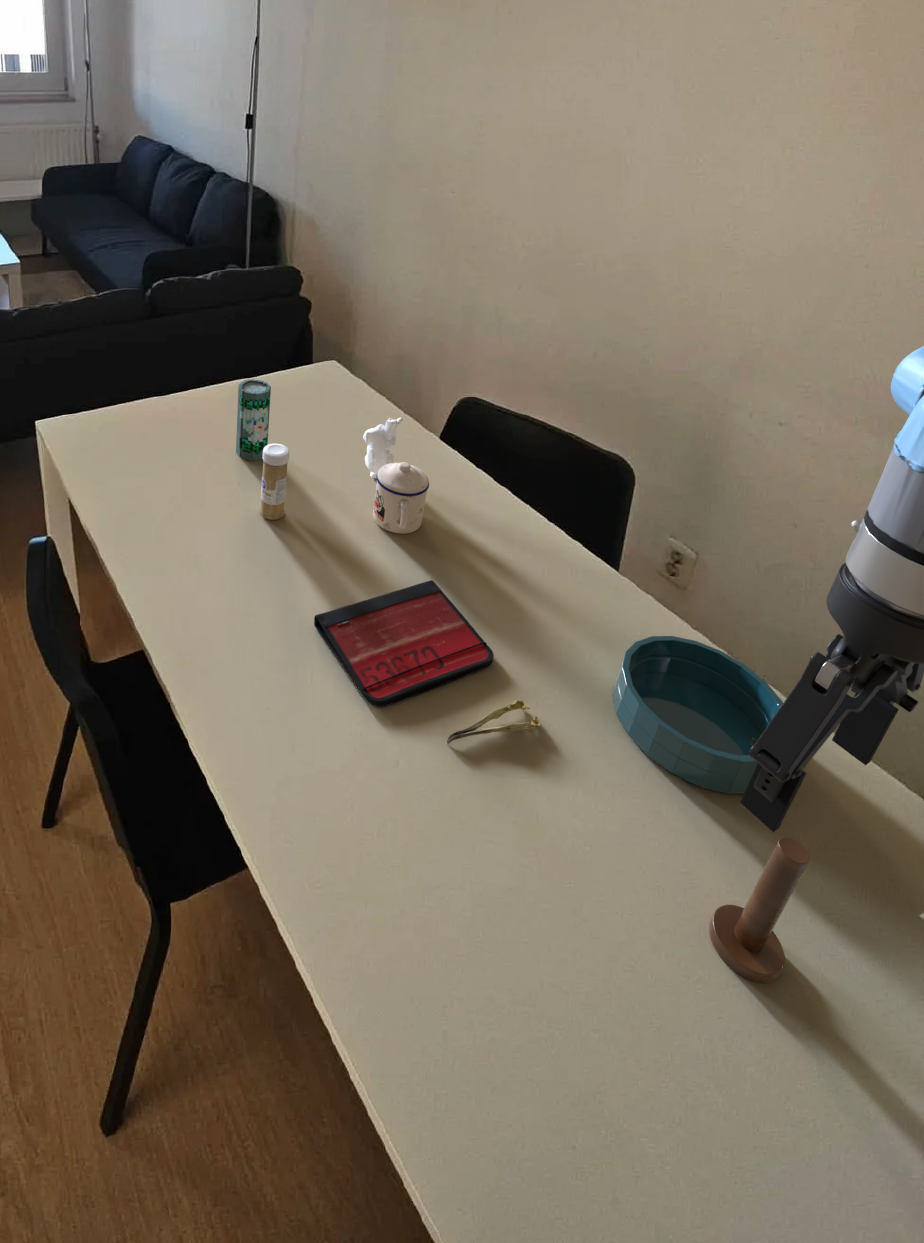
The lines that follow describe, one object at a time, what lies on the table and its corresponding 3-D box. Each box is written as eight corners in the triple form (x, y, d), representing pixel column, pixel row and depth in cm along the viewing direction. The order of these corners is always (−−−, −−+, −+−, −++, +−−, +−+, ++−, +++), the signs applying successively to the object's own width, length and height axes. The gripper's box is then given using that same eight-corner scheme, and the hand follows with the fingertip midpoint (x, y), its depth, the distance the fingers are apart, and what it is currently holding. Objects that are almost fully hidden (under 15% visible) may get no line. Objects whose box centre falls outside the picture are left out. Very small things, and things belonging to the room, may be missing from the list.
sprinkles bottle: (254, 511, 134) (257, 447, 128) (273, 502, 136) (277, 439, 131) (270, 524, 131) (274, 459, 125) (290, 515, 133) (294, 451, 128)
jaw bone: (440, 735, 93) (443, 724, 93) (519, 706, 98) (523, 694, 98) (462, 764, 90) (465, 752, 89) (543, 732, 95) (546, 720, 94)
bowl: (811, 767, 91) (829, 733, 89) (703, 818, 85) (718, 783, 82) (681, 653, 107) (692, 622, 105) (581, 689, 101) (591, 656, 98)
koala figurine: (388, 460, 151) (395, 409, 146) (406, 479, 145) (414, 425, 140) (351, 467, 148) (357, 415, 143) (368, 486, 142) (374, 432, 137)
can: (243, 462, 148) (246, 395, 142) (232, 446, 153) (234, 382, 147) (271, 457, 150) (275, 391, 144) (259, 441, 155) (263, 377, 149)
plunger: (794, 968, 71) (850, 871, 66) (751, 994, 69) (805, 896, 63) (736, 904, 77) (784, 808, 71) (694, 926, 75) (740, 829, 69)
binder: (314, 613, 108) (432, 577, 116) (312, 625, 109) (429, 588, 117) (373, 703, 95) (501, 656, 103) (371, 716, 96) (498, 668, 104)
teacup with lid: (369, 501, 138) (376, 448, 133) (419, 506, 137) (428, 452, 132) (374, 544, 127) (381, 487, 122) (428, 549, 126) (437, 492, 121)
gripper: (928, 516, 63) (839, 696, 72) (751, 605, 53) (671, 803, 61) (1045, 572, 57) (933, 761, 66) (871, 685, 47) (764, 893, 55)
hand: (806, 782), depth 63 cm, fingers open, 13 cm apart
